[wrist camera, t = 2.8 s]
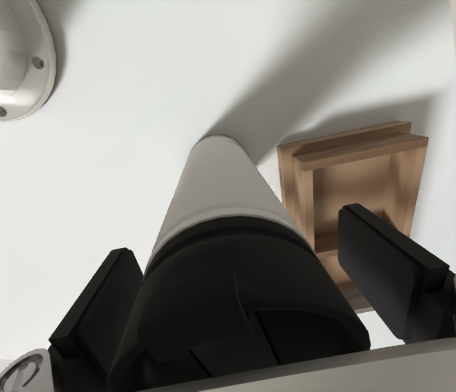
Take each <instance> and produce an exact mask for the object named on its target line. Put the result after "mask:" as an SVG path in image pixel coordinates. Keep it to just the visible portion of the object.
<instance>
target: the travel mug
mask: <svg viewBox="0 0 456 392" xmlns="http://www.w3.org/2000/svg"><path fill="white" fill-rule="evenodd" d="M370 346H371V343H370V338H369V333H368V330H367V329H366V327H365V326H364V325H363V323H362V322H361V320H360V319H359V317H358V316H357V314H356V313H355V311H354V310H353V309H352V307H351V306H350V304H349V303H348V301H347V300H346V298H345V297H344V296H343V294H342V293H341V291H340V290H339V288H338V287H337V285H336V284H335V282H334V281H333V280H332V278H331V277H330V275H329V274H328V272H327V271H326V270H325V268H324V267H323V266H322V264H321V262H320V261H319V259H318V258H317V256H316V253H315V250H314V249H313V248H312V246H311V245H310V243H309V242H308V241H307V239H306V238H305V236H304V235H303V233H302V232H301V231H300V229H299V228H298V226H297V225H296V223H295V222H294V221H293V219H292V218H291V216H290V215H289V214H288V212H287V211H286V209H285V208H284V206H283V205H282V204H281V202H280V201H279V199H278V198H277V196H276V195H275V194H274V192H273V191H272V189H271V188H270V186H269V185H268V184H267V182H266V181H265V179H264V178H263V177H262V175H261V174H260V172H259V171H258V169H257V168H256V167H255V165H254V164H253V162H252V161H251V159H250V158H249V157H248V155H247V154H246V152H245V151H244V150H243V148H242V147H241V145H240V144H239V143H238V142H237V141H235V140H234V139H232V138H230V137H227V136H224V135H211V136H208V137H205V138H203V139H201V140H200V141H199V142H197V143H196V144H195V146H194V147H193V148H192V150H191V152H190V154H189V157H188V159H187V162H186V164H185V167H184V169H183V172H182V175H181V177H180V180H179V182H178V185H177V188H176V190H175V193H174V195H173V198H172V201H171V203H170V206H169V208H168V211H167V214H166V216H165V219H164V222H163V224H162V227H161V229H160V232H159V235H158V237H157V240H156V242H155V245H154V248H153V250H152V254H151V257H150V258H149V261H148V263H147V266H146V269H145V273H144V277H143V282H142V286H141V290H140V291H139V293H138V295H137V298H136V300H135V303H134V306H133V309H132V311H131V314H130V317H129V319H128V322H127V325H126V328H125V330H124V333H123V336H122V338H121V341H120V344H119V346H118V349H117V352H116V354H115V357H114V360H113V362H112V365H111V368H110V371H109V375H108V380H107V389H108V392H137V391H142V390H148V389H153V388H159V387H164V386H169V385H175V384H180V383H186V382H191V381H197V380H202V379H208V378H213V377H219V376H224V375H230V374H236V373H241V372H247V371H252V370H258V369H264V368H269V367H275V366H281V365H286V364H292V363H298V362H303V361H309V360H315V359H321V358H327V357H332V356H338V355H344V354H350V353H356V352H361V351H367V350H370Z"/></svg>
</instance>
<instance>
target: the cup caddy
mask: <svg viewBox="0 0 456 392" xmlns="http://www.w3.org/2000/svg"><path fill="white" fill-rule="evenodd" d="M410 128H411V123H410V122H401V121H398V122H393V123H388V124H384V125H379V126H374V127H369V128H364V129H359V130H354V131H349V132H344V133H340V134H335V135H330V136H325V137H320V138H315V139H310V140H305V141H300V142H296V143H291V144H286V145H281V146H277V152H278V163H279V173H280V184H281V195H282V205H283V206H284V208H285V209H286V211H287V212H288V214H289V215H290V216H291V218H292V219H293V221H294V222H295V223H296V225H297V226H298V228H299V229H300V231H301V232H302V233H303V235H304V236H305V238H306V239H307V241H308V242H309V243H310V245H311V246H312V248H313V249H314V250H315V253H316V256H317V258H318V259H319V261H320V262H321V264H322V266H323V267H324V268H325V270H326V271H327V272H328V274H329V275H330V277H331V278H332V280H333V281H334V282H335V284H336V285H337V287H338V288H339V290H340V291H341V293H342V294H343V296H344V297H345V298H346V300H347V301H348V303H349V304H350V306H351V307H352V309H353V310H354V311H355V313H356V314H359V313H364V312H369V311H374V309H373V307H372V306H371V305H370V303H369V302H368V301H367V300H366V298H365V297H364V296H363V294H362V293H361V292H360V291H359V289H358V288H357V287H356V285H355V284H354V283H353V282H352V280H351V279H350V278H349V276H348V275H347V274H346V273H345V271H344V270H343V269H342V267H341V266H340V264H339V262H338V213H339V210H340V209H342V207H343V206H344V205H348V204H353V203H359V204H361V205H362V206H363V207H365V208H366V209H368V210H369V211H371V212H372V213H374V214H375V215H377V216H378V217H380V218H381V219H382V220H384V221H385V222H387V223H388V224H390V225H391V226H393V227H394V228H396V229H397V230H398V231H400V232H401V233H403V234H404V235H406V236H407V237H409V235H410V230H411V225H412V220H413V215H414V210H415V205H416V200H417V194H418V189H419V184H420V179H421V174H422V169H423V164H424V159H425V154H426V149H427V144H428V138H429V137H423V136H417V135H411V134H410Z"/></svg>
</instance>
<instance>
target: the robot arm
mask: <svg viewBox="0 0 456 392" xmlns="http://www.w3.org/2000/svg"><path fill="white" fill-rule="evenodd" d="M43 62H44V65H43ZM55 76H56V53H55V48H54V42H53V38H52V35H51V32H50V29H49V26H48V24H47V21H46V19H45V17H44V15H43V13H42V11H41V9H40V7H39V5H38V3H37V1H36V0H0V122H6V121H12V120H19V119H21V118H24V117H26V116H29V115H31V114H32V113H34V112H35V111H36V110H38V109H39V108H40V107H41V106H42V105H43V104H44V102H45V101H46V100H47V99H48V97H49V95H50V93H51V90H52V88H53V86H54V81H55ZM338 262H339V264H340V266H341V267H342V269H343V270H344V271H345V273H346V274H347V275H348V276H349V278H350V279H351V280H352V282H353V283H354V284H355V285H356V287H357V288H358V289H359V291H360V292H361V293H362V294H363V296H364V297H365V298H366V300H367V301H368V302H369V303H370V305H371V306H372V307H373V309H374V310H375V311H376V312H377V314H378V315H379V316H380V318H381V319H382V320H383V321H384V323H385V324H386V325H387V327H388V328H389V329H390V330H391V332H392V333H393V334H394V335H395V337H397V338H398V339H402V340H403V341H404V342H405V344H404V345H398V346H391V347H385V348H379V349H373V350H367V351H361V352H356V353H350V354H344V355H338V356H332V357H327V358H321V359H315V360H309V361H303V362H298V363H292V364H286V365H281V366H275V367H269V368H264V369H258V370H252V371H247V372H241V373H236V374H230V375H224V376H219V377H213V378H208V379H202V380H197V381H191V382H186V383H180V384H175V385H169V386H164V387H159V388H153V389H148V390H142V391H137V392H456V274H454V273H453V272H452V271H450V270H449V267H450V266H449V265H448V264H446V263H445V262H444V261H442V260H441V259H439V258H438V257H436V256H435V255H433V254H432V253H430V252H429V251H428V250H426V249H425V248H423V247H422V246H420V245H419V244H417V243H416V242H414V241H413V240H412V239H410V238H409V237H407V236H406V235H404V234H403V233H401V232H400V231H398V230H397V229H396V228H394V227H393V226H391V225H390V224H388V223H387V222H385V221H384V220H382V219H381V218H380V217H378V216H377V215H375V214H374V213H372V212H371V211H369V210H368V209H366V208H365V207H363V206H362V205H361V204H359V203H353V204H348V205H344V206H343V207H342V209H340V210H339V213H338ZM143 277H144V276H143V273H142V271H141V269H140V267H139V265H138V262H137V260H136V258H135V256H134V253H133V252H132V250H128V249H127V248H120V249H115V250H112V251H111V252H110V253H109V255H108V256H107V257H106V259H105V260H104V262H103V263H102V265H101V266H100V267H99V269H98V270H97V272H96V273H95V274H94V276H93V277H92V279H91V280H90V282H89V283H88V284H87V286H86V287H85V289H84V290H83V291H82V293H81V294H80V296H79V297H78V299H77V300H76V301H75V303H74V304H73V306H72V307H71V308H70V310H69V311H68V313H67V314H66V315H65V317H64V318H63V320H62V321H61V323H60V324H59V325H58V327H57V328H56V330H55V331H54V332H53V334H52V335H51V337H50V338H49V342H50V343H51V346H50V347H49V349H48V350H46V349H36V350H33V351H30V352H28V353H26V354H24V355H23V356H21V357H19V358H18V359H17V360H15V361H14V362H13V363H11V364H10V365H9V366H8V367H7V368H6V369H5V370H3V372H2V373H1V374H0V392H108V389H107V380H108V375H109V371H110V368H111V365H112V362H113V360H114V357H115V354H116V352H117V349H118V346H119V344H120V341H121V338H122V336H123V333H124V330H125V328H126V325H127V322H128V319H129V317H130V314H131V311H132V309H133V306H134V303H135V300H136V298H137V295H138V293H139V291H140V290H141V286H142V282H143Z"/></svg>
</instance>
